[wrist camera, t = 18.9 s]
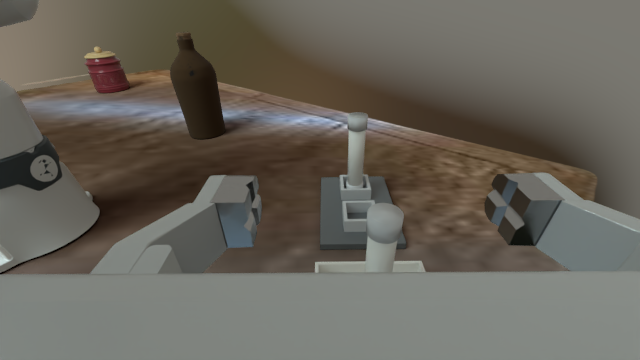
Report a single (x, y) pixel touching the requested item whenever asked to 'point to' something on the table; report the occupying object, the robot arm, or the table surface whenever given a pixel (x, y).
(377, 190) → the fuse board
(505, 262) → the table surface
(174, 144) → the table surface
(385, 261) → the cylinder
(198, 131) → the olive oil
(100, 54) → the canister
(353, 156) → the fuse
